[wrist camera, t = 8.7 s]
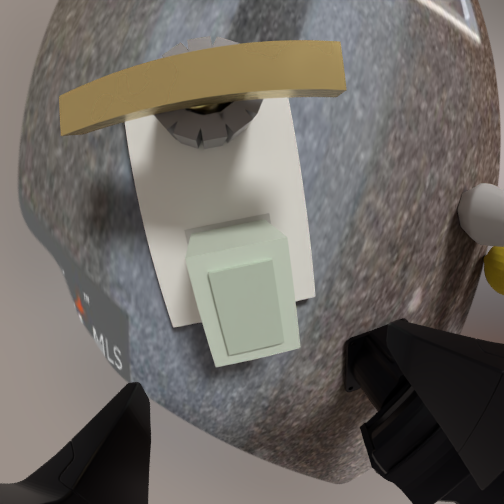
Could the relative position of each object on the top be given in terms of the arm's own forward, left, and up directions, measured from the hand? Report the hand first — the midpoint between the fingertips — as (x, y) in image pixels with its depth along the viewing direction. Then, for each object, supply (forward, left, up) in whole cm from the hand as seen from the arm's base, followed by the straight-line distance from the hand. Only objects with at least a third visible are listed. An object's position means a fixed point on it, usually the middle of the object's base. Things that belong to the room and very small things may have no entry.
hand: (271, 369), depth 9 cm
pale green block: (0, 0, -10) cm, 10 cm away
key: (+11, 0, -9) cm, 14 cm away
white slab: (+6, 0, -11) cm, 12 cm away
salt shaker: (+1, -23, -11) cm, 25 cm away
